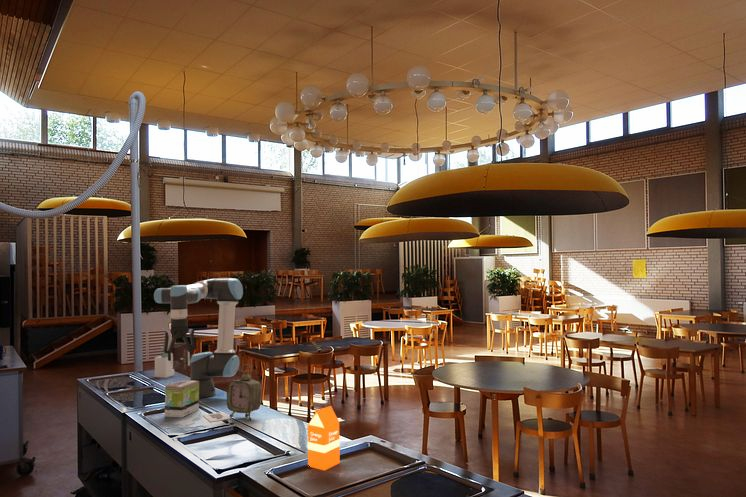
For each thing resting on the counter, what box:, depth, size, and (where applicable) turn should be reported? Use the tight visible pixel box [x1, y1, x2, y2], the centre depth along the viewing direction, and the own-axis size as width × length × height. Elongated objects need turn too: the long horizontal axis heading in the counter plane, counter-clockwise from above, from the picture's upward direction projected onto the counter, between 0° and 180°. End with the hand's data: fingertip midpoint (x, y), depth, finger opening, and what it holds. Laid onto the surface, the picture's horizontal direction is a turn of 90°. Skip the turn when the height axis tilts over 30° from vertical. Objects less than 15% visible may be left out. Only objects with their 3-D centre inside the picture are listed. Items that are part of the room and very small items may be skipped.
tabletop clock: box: [226, 363, 263, 422], centre depth 258 cm, size 14×9×25 cm, turn 64°
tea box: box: [164, 379, 200, 418], centre depth 268 cm, size 15×10×15 cm, turn 168°
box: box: [171, 342, 188, 370], centre depth 261 cm, size 6×4×12 cm
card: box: [202, 411, 232, 423], centre depth 260 cm, size 10×13×1 cm
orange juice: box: [307, 405, 341, 471], centre depth 197 cm, size 8×9×20 cm
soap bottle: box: [154, 346, 175, 379], centre depth 359 cm, size 9×9×19 cm
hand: (179, 366), depth 261 cm, fingers closed on box, 7 cm apart
